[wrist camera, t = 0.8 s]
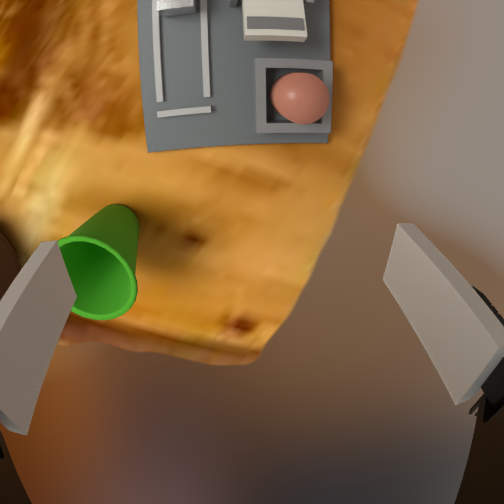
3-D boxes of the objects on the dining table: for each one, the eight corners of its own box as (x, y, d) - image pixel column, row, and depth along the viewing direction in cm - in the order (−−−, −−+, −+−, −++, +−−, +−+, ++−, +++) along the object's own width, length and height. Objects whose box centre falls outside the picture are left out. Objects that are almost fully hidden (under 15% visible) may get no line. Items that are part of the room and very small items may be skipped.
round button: (269, 71, 25) (276, 71, 22) (317, 73, 25) (330, 74, 22) (270, 118, 27) (276, 124, 24) (317, 118, 27) (328, 124, 24)
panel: (140, -47, 18) (130, -61, 15) (323, -51, 20) (337, -64, 16) (149, 150, 30) (140, 161, 26) (324, 140, 31) (338, 151, 28)
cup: (121, 170, 31) (84, 215, 21) (172, 232, 35) (158, 294, 26) (69, 216, 33) (27, 270, 23) (118, 269, 37) (94, 333, 28)
